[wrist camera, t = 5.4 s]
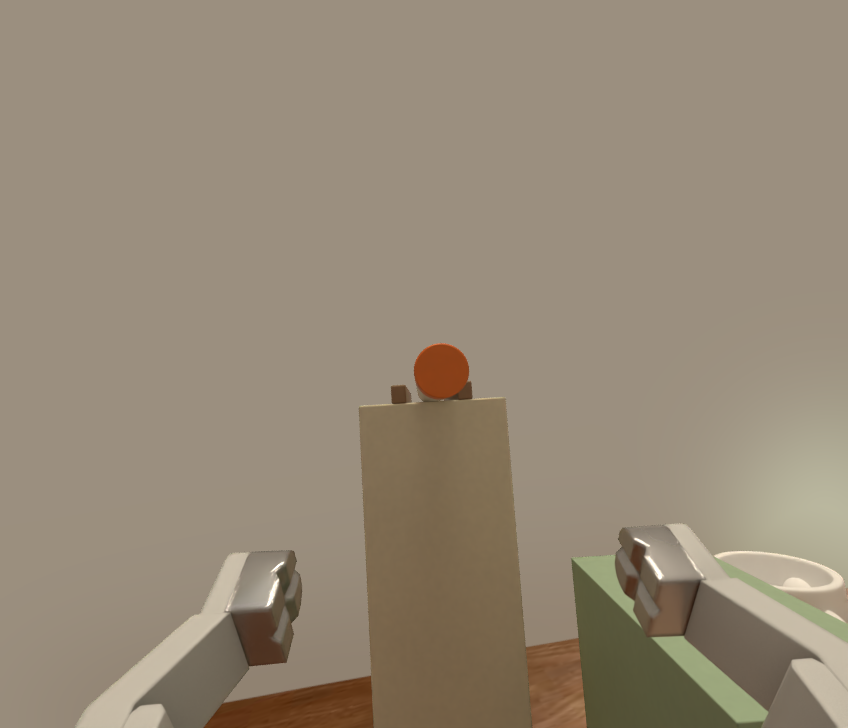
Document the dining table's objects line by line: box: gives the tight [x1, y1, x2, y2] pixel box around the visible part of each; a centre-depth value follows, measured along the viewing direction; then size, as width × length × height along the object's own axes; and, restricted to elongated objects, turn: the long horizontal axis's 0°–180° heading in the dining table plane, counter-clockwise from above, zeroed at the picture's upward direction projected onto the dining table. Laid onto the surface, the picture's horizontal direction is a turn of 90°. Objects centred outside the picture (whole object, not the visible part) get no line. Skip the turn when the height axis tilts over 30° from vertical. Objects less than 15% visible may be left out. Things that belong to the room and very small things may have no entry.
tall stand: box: [359, 381, 532, 728], centre depth 29 cm, size 8×14×27 cm, turn 0°
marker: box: [414, 343, 469, 402], centre depth 26 cm, size 2×20×2 cm, turn 1°
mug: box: [714, 551, 848, 624], centre depth 38 cm, size 12×10×9 cm
